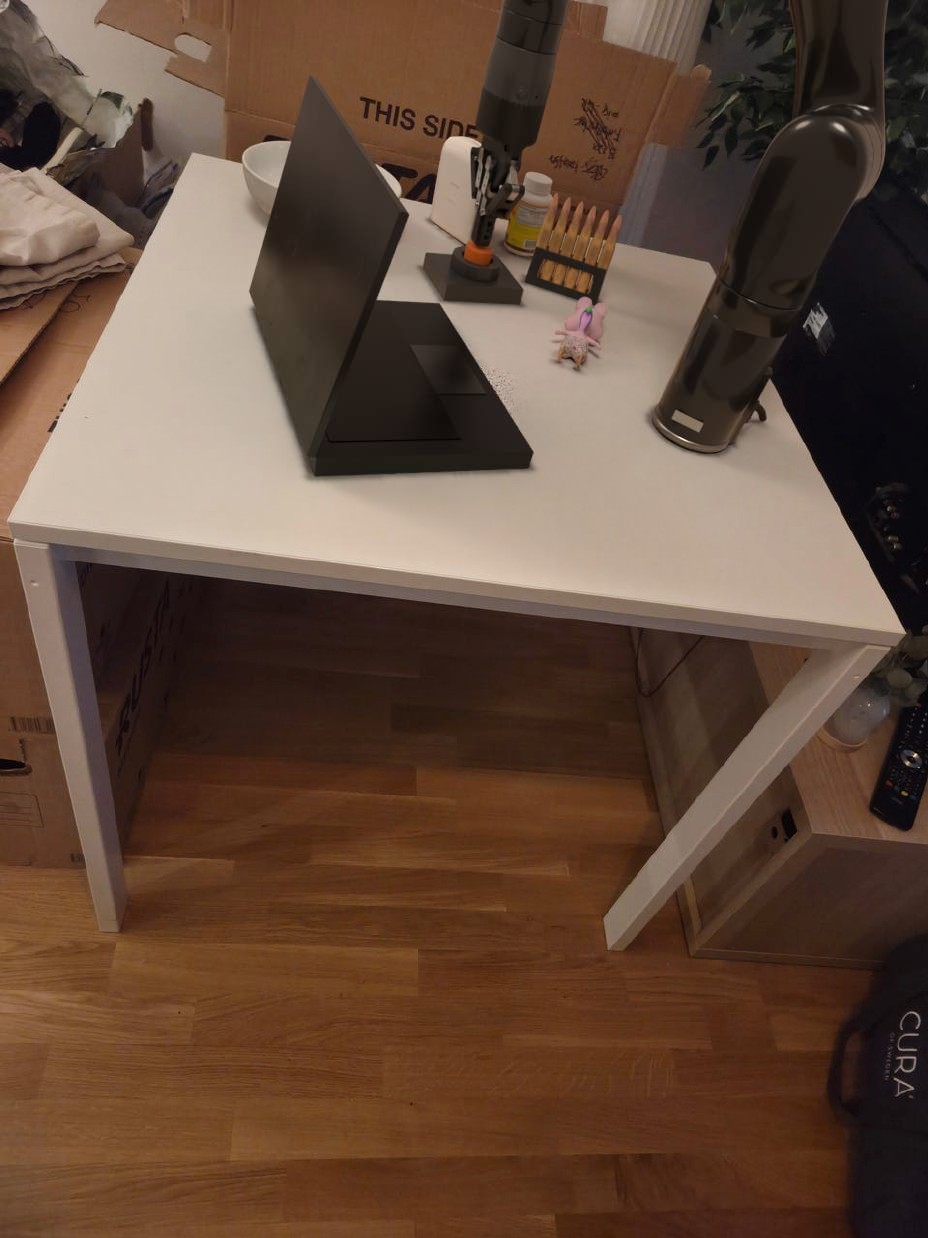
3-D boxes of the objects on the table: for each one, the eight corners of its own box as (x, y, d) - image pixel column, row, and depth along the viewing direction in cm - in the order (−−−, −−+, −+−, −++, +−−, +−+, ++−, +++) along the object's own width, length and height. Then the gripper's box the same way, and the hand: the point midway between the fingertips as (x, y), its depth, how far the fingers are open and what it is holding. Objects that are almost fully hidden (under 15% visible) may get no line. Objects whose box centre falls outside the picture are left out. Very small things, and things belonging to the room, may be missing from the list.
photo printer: (424, 218, 118) (441, 127, 110) (446, 216, 121) (464, 127, 112) (467, 249, 114) (487, 157, 105) (489, 247, 116) (510, 156, 108)
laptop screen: (318, 78, 74) (309, 74, 74) (411, 214, 57) (400, 210, 56) (256, 293, 88) (248, 291, 87) (316, 458, 70) (306, 456, 69)
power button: (484, 254, 105) (487, 241, 104) (494, 267, 103) (497, 253, 102) (459, 252, 104) (462, 239, 102) (469, 265, 101) (472, 251, 100)
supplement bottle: (511, 237, 121) (530, 166, 114) (543, 251, 120) (564, 180, 113) (496, 247, 117) (514, 173, 110) (529, 261, 116) (549, 188, 109)
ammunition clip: (524, 282, 111) (549, 192, 102) (526, 277, 112) (551, 188, 103) (595, 306, 110) (627, 218, 102) (597, 301, 112) (628, 214, 103)
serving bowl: (390, 271, 103) (399, 218, 98) (227, 237, 100) (228, 179, 95) (397, 212, 118) (405, 162, 113) (255, 180, 114) (256, 127, 109)
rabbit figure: (587, 384, 97) (613, 320, 106) (602, 343, 92) (628, 280, 101) (540, 367, 98) (569, 304, 106) (553, 325, 93) (582, 263, 101)
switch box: (495, 273, 111) (502, 244, 108) (519, 304, 105) (527, 275, 102) (422, 268, 106) (427, 238, 103) (443, 301, 101) (449, 270, 98)
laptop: (436, 318, 97) (439, 301, 96) (528, 468, 80) (534, 451, 78) (256, 310, 89) (256, 292, 87) (314, 476, 71) (316, 457, 70)
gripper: (568, 115, 87) (524, 269, 99) (522, 76, 95) (487, 223, 107) (507, 106, 84) (470, 265, 96) (466, 66, 92) (436, 218, 104)
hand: (479, 243), depth 102 cm, fingers closed
